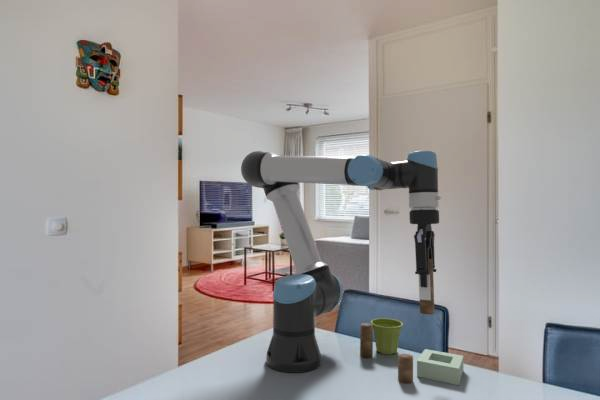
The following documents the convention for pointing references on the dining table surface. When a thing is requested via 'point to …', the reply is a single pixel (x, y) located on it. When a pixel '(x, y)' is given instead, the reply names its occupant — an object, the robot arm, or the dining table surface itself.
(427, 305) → the peg long
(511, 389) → the dining table surface
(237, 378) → the dining table surface
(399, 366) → the peg short
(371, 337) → the peg medium
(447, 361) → the hole block
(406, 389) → the dining table surface
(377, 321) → the plant pot
